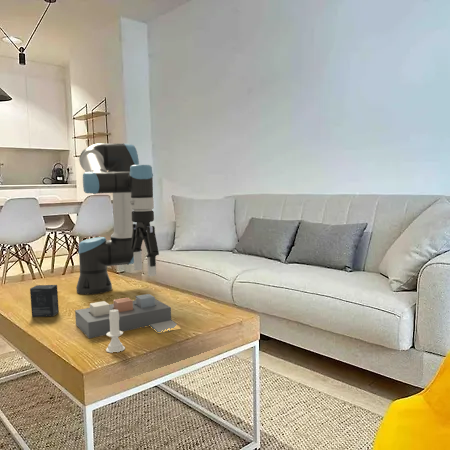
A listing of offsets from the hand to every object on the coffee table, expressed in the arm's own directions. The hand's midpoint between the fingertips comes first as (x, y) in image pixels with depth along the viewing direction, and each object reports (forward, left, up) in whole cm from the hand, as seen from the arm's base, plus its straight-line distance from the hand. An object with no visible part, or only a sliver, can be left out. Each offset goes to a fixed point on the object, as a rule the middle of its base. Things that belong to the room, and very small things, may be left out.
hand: (144, 272), depth 152 cm
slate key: (0, 0, -12) cm, 12 cm away
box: (-27, -28, -17) cm, 42 cm away
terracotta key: (0, -8, -12) cm, 15 cm away
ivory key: (0, -16, -12) cm, 20 cm away
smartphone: (+9, +2, -17) cm, 19 cm away
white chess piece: (+21, -18, -17) cm, 33 cm away
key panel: (0, -8, -16) cm, 18 cm away
